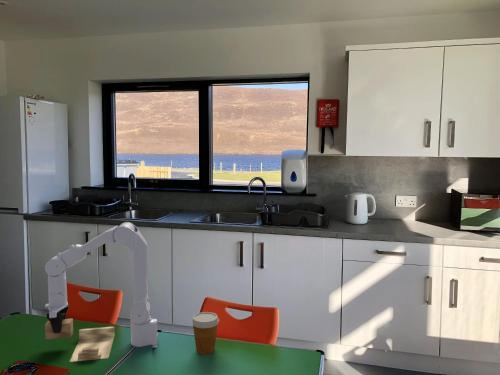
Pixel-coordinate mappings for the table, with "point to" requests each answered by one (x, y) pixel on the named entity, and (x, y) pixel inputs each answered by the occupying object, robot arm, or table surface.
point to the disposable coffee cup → (205, 331)
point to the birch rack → (95, 341)
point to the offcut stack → (89, 353)
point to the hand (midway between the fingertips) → (59, 329)
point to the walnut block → (65, 331)
